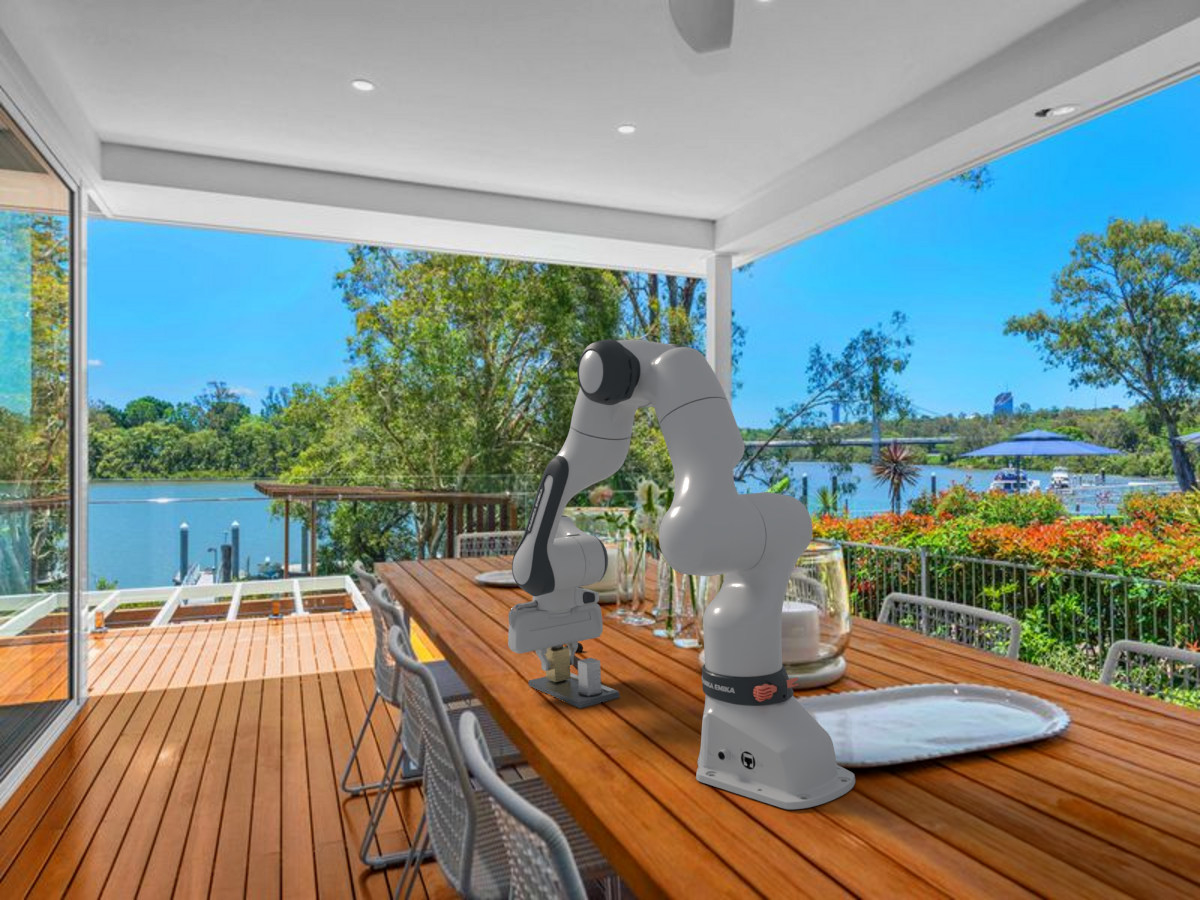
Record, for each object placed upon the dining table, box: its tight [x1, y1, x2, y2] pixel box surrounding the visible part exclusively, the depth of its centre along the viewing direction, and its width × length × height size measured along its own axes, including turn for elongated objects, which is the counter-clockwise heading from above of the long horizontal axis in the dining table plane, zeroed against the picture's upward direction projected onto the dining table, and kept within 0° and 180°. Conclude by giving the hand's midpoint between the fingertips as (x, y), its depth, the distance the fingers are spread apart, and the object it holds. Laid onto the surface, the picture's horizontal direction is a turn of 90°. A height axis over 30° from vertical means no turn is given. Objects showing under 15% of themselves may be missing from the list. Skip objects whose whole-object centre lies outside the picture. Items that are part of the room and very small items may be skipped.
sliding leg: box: [545, 645, 571, 682], centre depth 156 cm, size 4×4×7 cm
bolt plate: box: [528, 657, 620, 709], centre depth 152 cm, size 18×9×7 cm, turn 35°
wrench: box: [564, 642, 584, 670], centre depth 168 cm, size 5×5×30 cm
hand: (557, 667), depth 156 cm, fingers closed on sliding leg, 3 cm apart
